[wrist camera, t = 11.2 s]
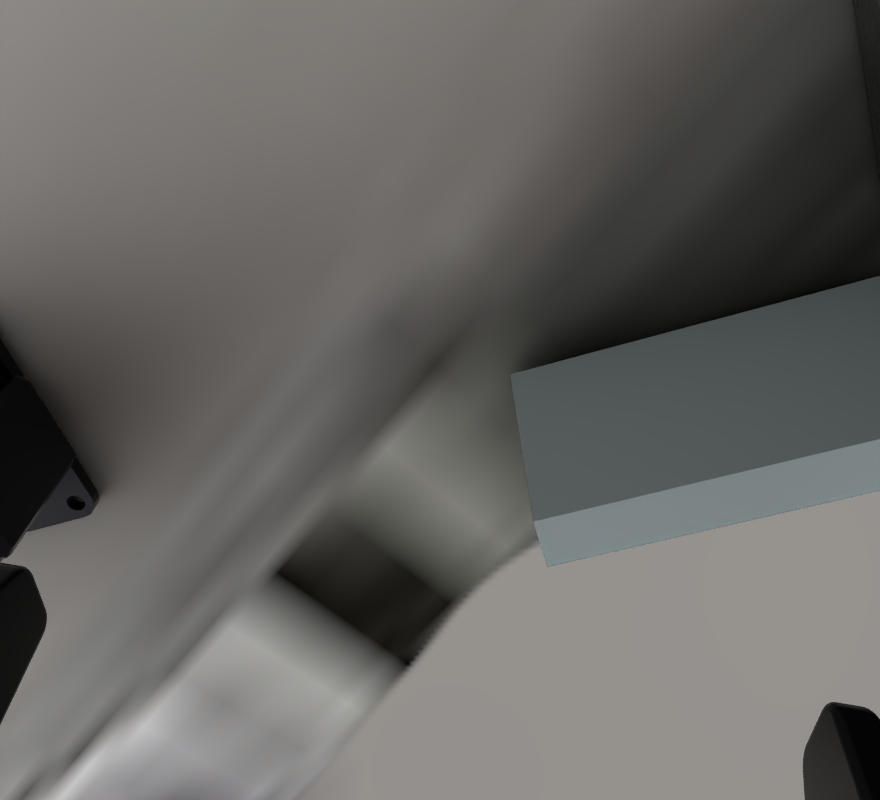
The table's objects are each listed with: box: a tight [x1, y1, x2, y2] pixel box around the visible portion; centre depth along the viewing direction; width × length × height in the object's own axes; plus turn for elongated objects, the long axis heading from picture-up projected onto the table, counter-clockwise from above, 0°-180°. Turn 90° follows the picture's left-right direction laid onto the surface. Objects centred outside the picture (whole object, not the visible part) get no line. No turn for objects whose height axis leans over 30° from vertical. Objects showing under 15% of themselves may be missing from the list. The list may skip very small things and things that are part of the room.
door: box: [510, 276, 880, 567], centre depth 18 cm, size 12×1×6 cm, turn 107°
